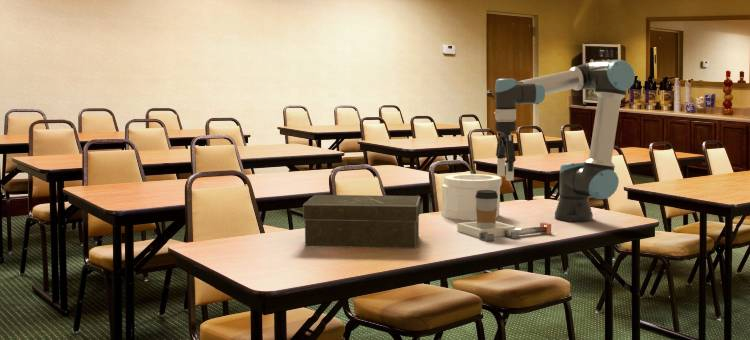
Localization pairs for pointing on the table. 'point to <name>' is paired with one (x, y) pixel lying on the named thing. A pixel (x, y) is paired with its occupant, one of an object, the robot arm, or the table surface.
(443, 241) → the table surface
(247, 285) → the table surface
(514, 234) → the bar guides
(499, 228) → the square tray
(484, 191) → the coffee cup
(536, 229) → the lock bar
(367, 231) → the box
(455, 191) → the container
